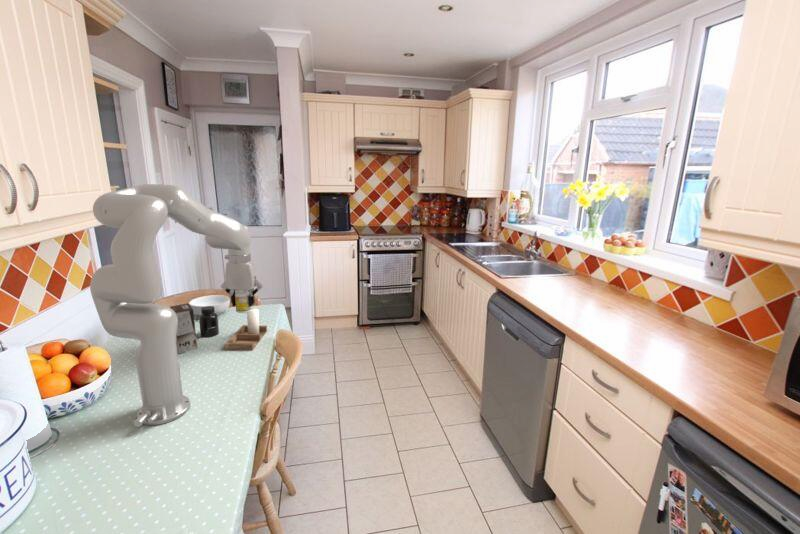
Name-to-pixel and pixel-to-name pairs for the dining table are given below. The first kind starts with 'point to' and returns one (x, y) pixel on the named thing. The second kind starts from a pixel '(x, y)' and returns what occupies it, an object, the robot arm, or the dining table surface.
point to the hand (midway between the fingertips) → (243, 304)
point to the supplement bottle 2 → (242, 301)
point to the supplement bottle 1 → (208, 322)
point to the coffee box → (185, 328)
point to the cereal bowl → (210, 303)
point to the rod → (253, 321)
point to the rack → (245, 339)
